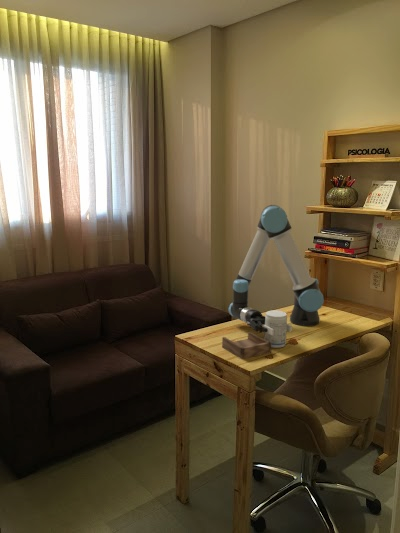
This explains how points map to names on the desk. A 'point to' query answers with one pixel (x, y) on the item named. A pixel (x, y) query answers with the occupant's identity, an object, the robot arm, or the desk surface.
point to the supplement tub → (276, 328)
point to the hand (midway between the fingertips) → (282, 330)
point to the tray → (247, 346)
